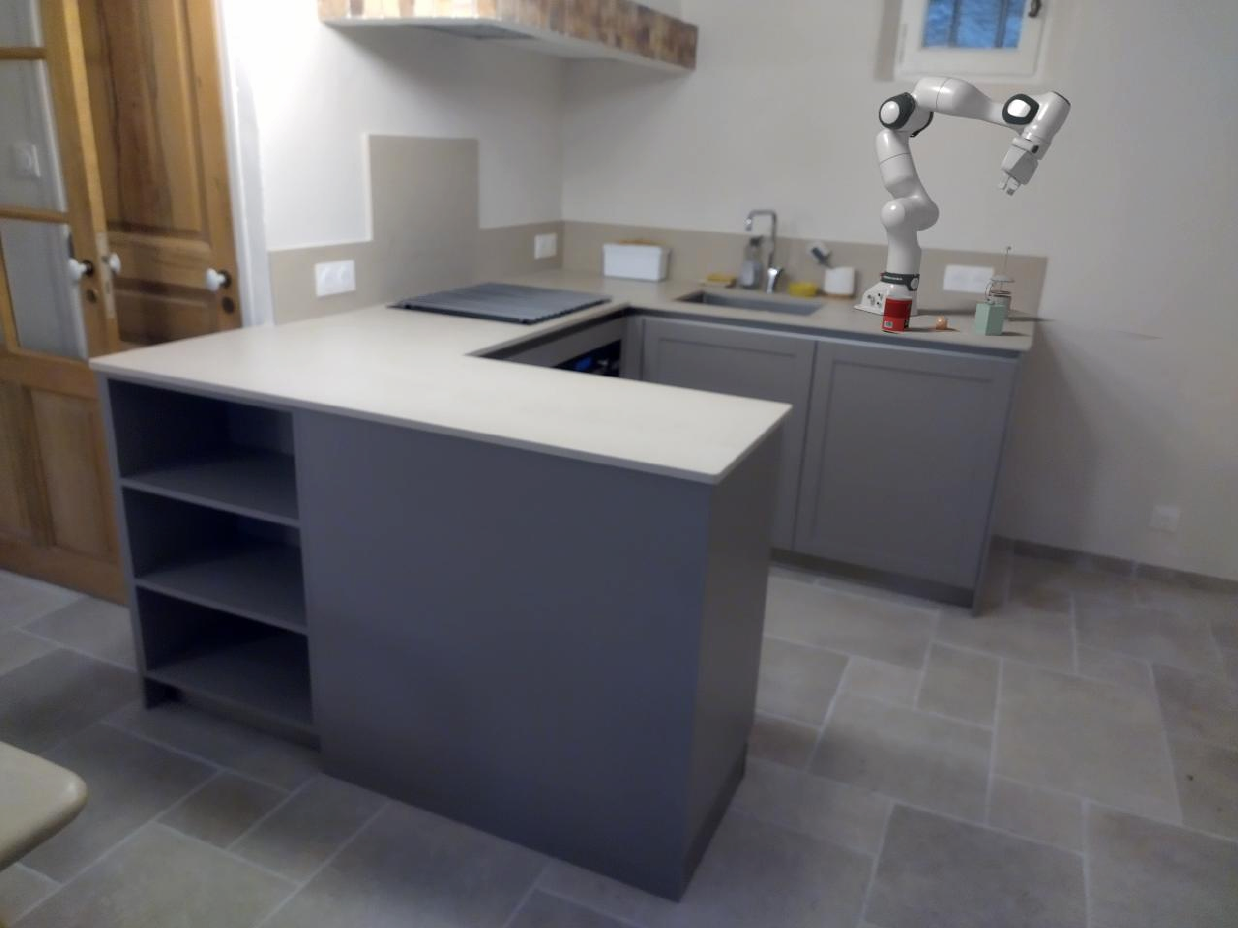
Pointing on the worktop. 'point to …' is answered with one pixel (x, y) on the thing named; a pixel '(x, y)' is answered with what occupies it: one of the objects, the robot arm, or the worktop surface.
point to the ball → (941, 323)
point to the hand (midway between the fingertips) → (1004, 191)
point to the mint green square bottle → (989, 318)
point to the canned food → (897, 313)
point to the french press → (1001, 299)
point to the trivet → (941, 330)
